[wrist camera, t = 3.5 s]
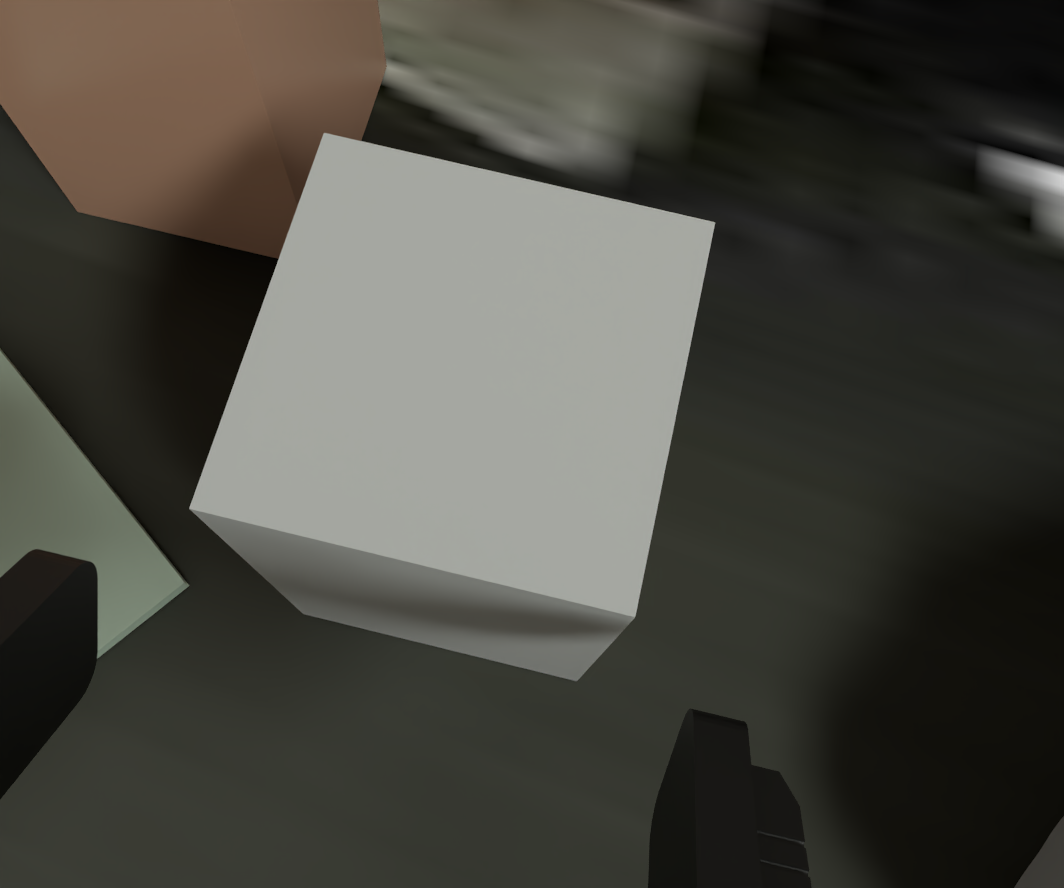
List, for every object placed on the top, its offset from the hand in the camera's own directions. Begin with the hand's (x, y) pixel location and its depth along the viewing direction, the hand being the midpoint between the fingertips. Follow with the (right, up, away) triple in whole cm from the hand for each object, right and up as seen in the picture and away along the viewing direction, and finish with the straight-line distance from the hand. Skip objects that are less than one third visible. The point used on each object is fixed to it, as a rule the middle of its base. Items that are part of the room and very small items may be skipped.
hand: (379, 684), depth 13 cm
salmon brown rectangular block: (-6, +11, +14) cm, 19 cm away
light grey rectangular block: (+1, +1, +11) cm, 11 cm away
